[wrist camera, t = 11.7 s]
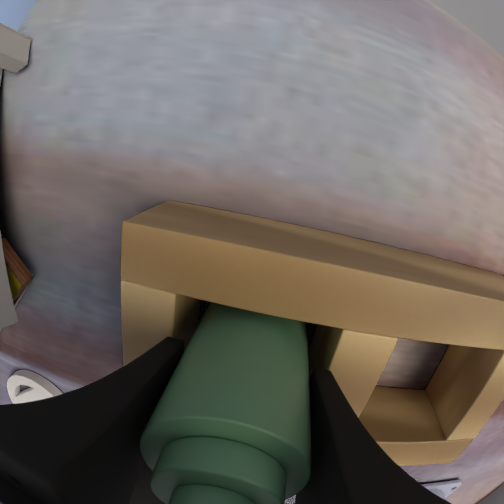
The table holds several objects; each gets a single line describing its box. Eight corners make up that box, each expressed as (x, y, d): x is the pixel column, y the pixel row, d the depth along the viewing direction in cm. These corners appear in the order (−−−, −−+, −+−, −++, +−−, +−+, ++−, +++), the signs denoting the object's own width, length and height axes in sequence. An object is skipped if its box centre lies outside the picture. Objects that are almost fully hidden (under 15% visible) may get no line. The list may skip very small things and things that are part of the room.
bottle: (292, 379, 14) (275, 608, 4) (198, 359, 14) (107, 570, 4) (319, 296, 12) (344, 586, 2) (209, 273, 13) (57, 522, 3)
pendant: (29, 365, 17) (35, 359, 18) (-11, 389, 20) (-7, 384, 20) (94, 438, 18) (99, 431, 19) (37, 444, 21) (41, 439, 22)
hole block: (435, 414, 15) (454, 462, 11) (157, 371, 16) (128, 421, 12) (506, 276, 12) (552, 311, 8) (168, 199, 13) (121, 220, 9)
